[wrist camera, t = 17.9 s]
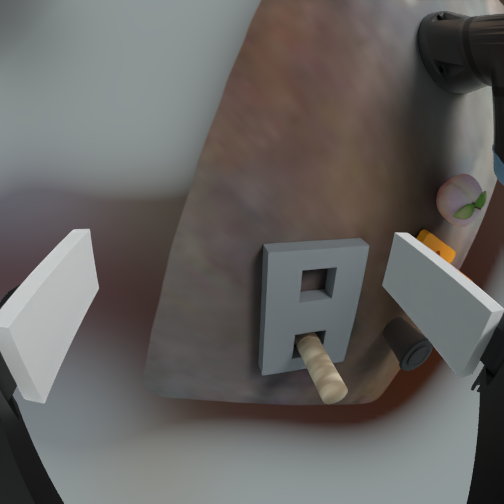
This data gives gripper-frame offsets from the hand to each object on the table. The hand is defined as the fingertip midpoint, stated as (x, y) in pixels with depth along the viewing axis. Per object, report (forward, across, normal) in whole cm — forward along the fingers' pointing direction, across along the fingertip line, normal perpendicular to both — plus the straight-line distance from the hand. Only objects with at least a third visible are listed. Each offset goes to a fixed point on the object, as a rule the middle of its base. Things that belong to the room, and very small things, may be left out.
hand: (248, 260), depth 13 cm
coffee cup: (+33, +36, -32) cm, 58 cm away
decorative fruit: (+33, +39, -3) cm, 51 cm away
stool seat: (+31, +15, -24) cm, 42 cm away
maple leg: (+31, +15, -30) cm, 46 cm away
